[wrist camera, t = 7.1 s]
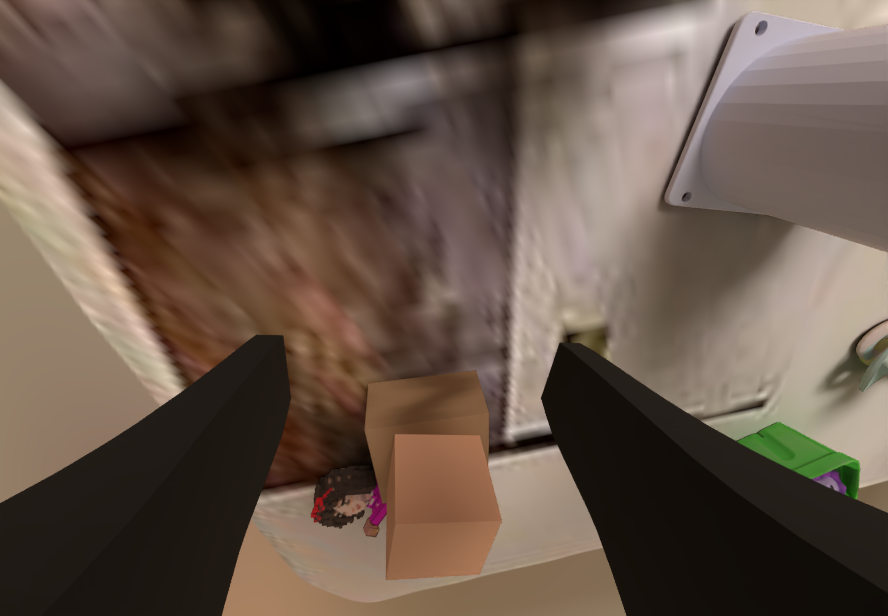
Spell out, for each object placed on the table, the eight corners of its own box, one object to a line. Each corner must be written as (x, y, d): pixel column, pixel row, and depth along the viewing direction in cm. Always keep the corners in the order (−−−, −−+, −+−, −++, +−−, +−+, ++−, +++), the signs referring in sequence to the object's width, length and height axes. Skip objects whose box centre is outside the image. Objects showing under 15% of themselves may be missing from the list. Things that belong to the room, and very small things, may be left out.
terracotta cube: (479, 435, 21) (501, 520, 17) (463, 487, 24) (479, 574, 19) (394, 434, 20) (395, 524, 16) (387, 488, 23) (385, 580, 18)
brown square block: (475, 367, 24) (488, 413, 20) (475, 438, 27) (487, 487, 24) (368, 380, 23) (364, 429, 20) (383, 451, 27) (382, 503, 23)
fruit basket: (793, 404, 30) (986, 553, 20) (799, 457, 34) (961, 600, 24) (663, 465, 32) (781, 625, 22) (684, 507, 36) (791, 657, 26)
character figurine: (473, 446, 29) (316, 452, 25) (494, 509, 25) (311, 527, 21) (453, 487, 32) (310, 498, 28) (470, 550, 28) (305, 573, 24)
